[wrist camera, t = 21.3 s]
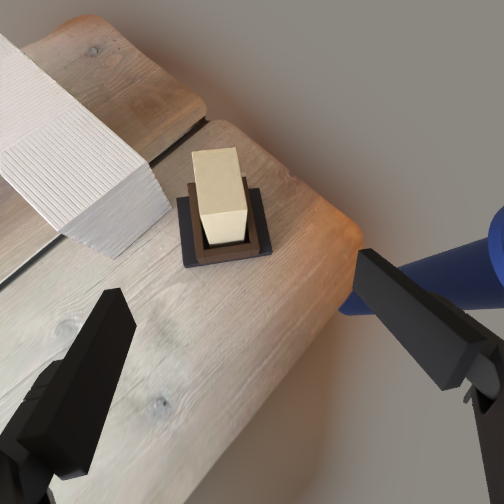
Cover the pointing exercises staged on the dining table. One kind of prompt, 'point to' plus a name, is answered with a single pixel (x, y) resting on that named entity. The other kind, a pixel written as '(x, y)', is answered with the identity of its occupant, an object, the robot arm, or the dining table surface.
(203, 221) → the cream rectangular block
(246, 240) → the square socket base
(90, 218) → the stack of papers
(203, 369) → the dining table surface
